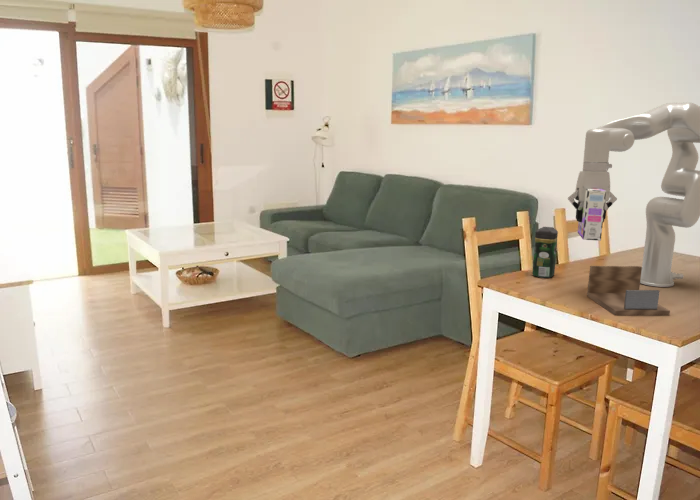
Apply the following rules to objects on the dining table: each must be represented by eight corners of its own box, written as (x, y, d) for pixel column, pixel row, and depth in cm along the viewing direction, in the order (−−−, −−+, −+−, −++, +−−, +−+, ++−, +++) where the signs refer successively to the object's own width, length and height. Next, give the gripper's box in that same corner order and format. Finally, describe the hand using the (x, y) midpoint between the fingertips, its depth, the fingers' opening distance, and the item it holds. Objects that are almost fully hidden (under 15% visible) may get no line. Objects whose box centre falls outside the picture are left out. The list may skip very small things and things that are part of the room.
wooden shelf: (636, 296, 201) (640, 266, 198) (669, 315, 181) (674, 282, 179) (587, 296, 200) (590, 265, 198) (614, 315, 181) (618, 282, 178)
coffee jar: (534, 271, 232) (538, 224, 228) (555, 273, 229) (559, 226, 225) (529, 276, 224) (533, 228, 220) (551, 279, 220) (556, 230, 216)
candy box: (601, 241, 191) (606, 190, 187) (582, 240, 192) (587, 189, 189) (594, 233, 204) (599, 185, 200) (576, 232, 205) (581, 184, 202)
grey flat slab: (655, 308, 182) (658, 290, 181) (657, 309, 182) (659, 290, 180) (623, 308, 182) (626, 290, 181) (625, 309, 181) (627, 290, 180)
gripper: (616, 166, 197) (611, 219, 201) (564, 166, 197) (560, 219, 201) (627, 168, 189) (621, 223, 193) (572, 168, 189) (568, 223, 193)
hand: (590, 221), depth 197 cm, fingers closed on candy box, 6 cm apart
